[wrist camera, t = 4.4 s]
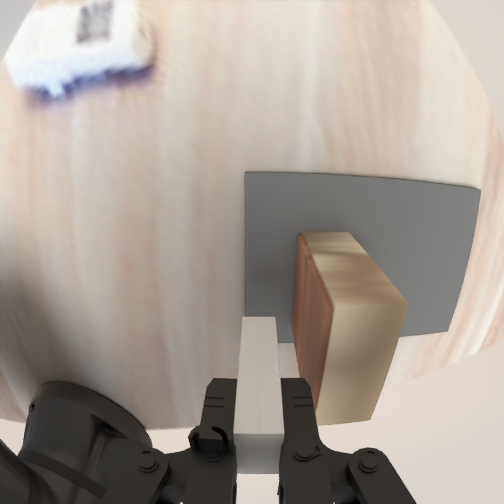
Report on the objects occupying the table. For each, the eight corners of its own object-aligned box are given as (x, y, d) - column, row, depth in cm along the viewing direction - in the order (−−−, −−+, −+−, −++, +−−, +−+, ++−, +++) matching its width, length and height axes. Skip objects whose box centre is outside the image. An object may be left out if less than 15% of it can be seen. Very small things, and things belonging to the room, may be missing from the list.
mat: (245, 338, 23) (245, 342, 23) (245, 172, 19) (244, 173, 18) (444, 327, 23) (447, 331, 22) (476, 188, 19) (481, 190, 18)
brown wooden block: (291, 326, 22) (306, 426, 14) (297, 230, 19) (327, 306, 11) (336, 325, 22) (370, 420, 14) (348, 231, 19) (408, 303, 11)
